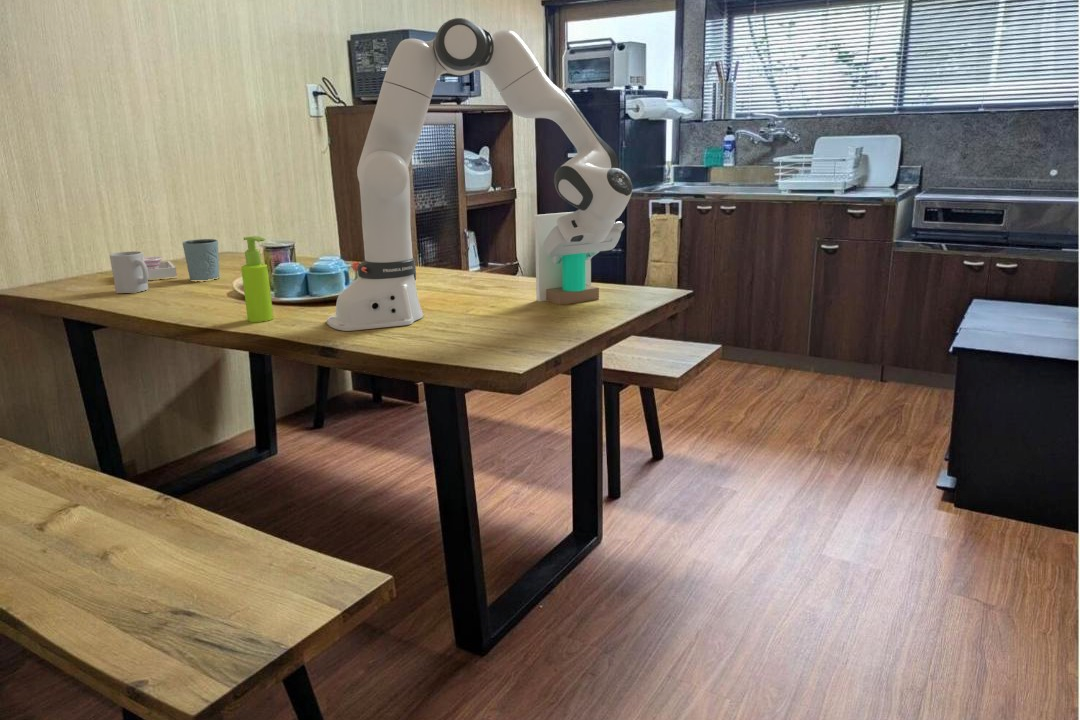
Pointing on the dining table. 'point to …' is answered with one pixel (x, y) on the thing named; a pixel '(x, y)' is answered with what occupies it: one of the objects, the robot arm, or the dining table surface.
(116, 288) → the mug
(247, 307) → the soap dispenser
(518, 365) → the dining table surface
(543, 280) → the tabletop board
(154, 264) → the teacup
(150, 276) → the tray
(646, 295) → the dining table surface
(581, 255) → the candle
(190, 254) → the blue embossed cup
